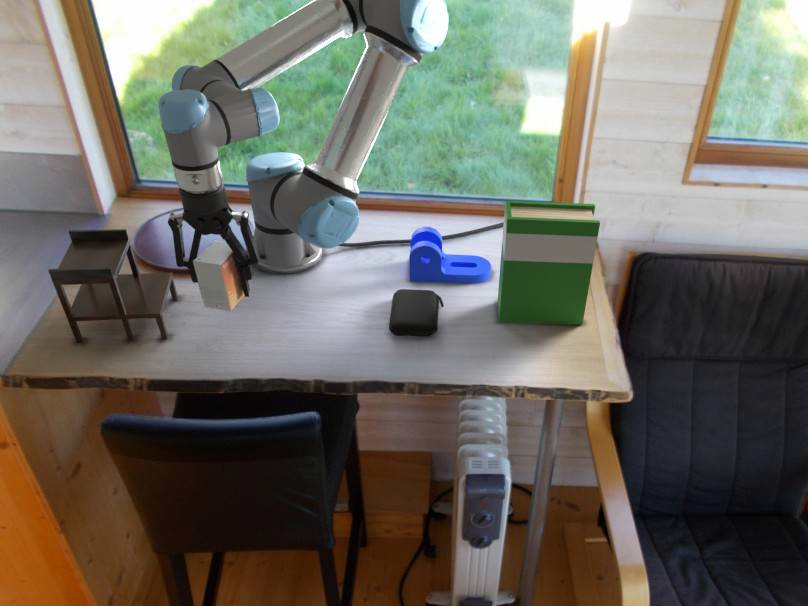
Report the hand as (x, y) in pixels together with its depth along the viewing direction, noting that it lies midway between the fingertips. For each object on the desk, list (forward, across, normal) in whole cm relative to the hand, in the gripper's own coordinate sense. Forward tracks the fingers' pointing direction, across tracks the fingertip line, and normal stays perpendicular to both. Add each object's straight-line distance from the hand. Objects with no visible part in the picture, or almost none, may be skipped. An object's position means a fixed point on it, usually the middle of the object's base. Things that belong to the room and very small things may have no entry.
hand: (226, 293), depth 143 cm
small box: (+1, 0, 0) cm, 1 cm away
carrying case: (+7, +37, -2) cm, 37 cm away
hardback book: (+7, +63, -2) cm, 63 cm away
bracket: (+7, +46, +15) cm, 48 cm away
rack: (+6, -19, +2) cm, 20 cm away
